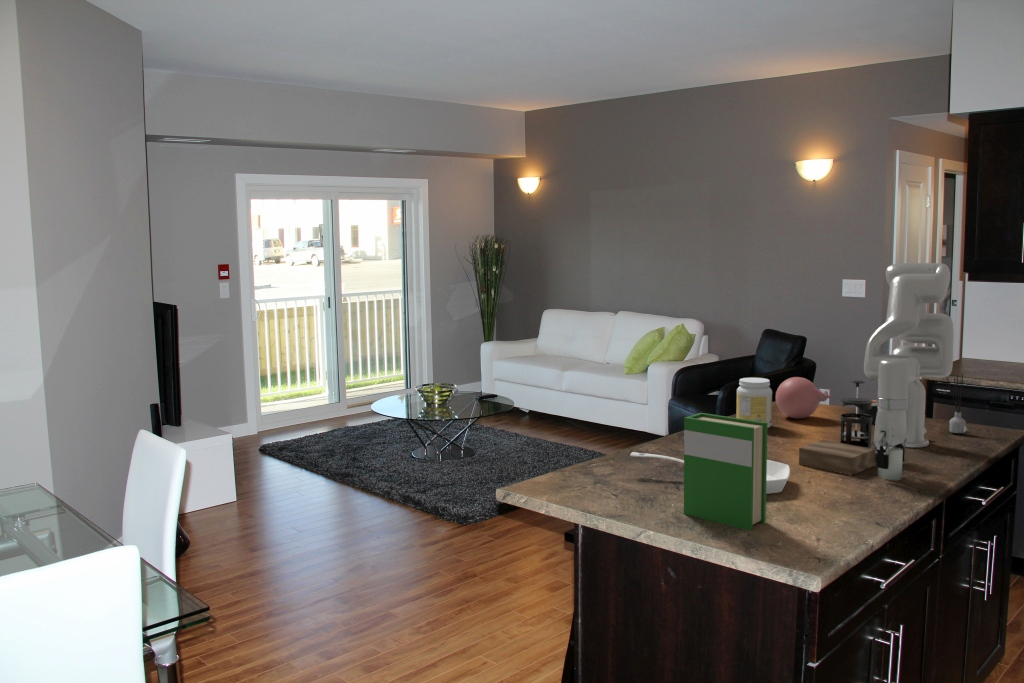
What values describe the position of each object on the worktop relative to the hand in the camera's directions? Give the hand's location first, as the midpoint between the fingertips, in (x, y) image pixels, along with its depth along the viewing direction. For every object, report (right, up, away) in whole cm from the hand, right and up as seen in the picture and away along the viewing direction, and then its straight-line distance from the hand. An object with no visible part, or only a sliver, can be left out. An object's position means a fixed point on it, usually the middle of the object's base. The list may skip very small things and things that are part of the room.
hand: (890, 464), depth 223 cm
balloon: (+3, +5, +75) cm, 75 cm away
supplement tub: (-18, +4, +65) cm, 67 cm away
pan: (-50, -5, +1) cm, 51 cm away
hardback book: (-54, -8, -30) cm, 62 cm away
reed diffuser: (+45, +3, +49) cm, 67 cm away
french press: (+1, -1, +25) cm, 25 cm away
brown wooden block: (-10, -2, +13) cm, 16 cm away
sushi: (+25, +5, +68) cm, 72 cm away
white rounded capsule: (0, -3, +1) cm, 4 cm away
